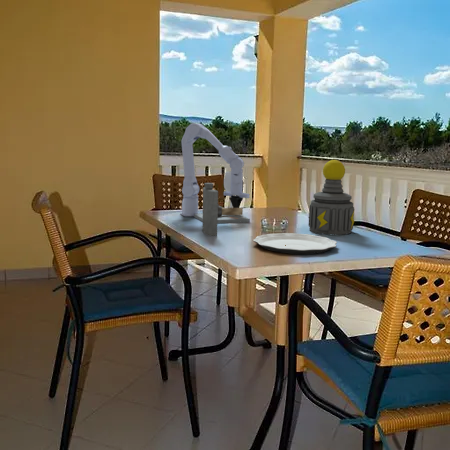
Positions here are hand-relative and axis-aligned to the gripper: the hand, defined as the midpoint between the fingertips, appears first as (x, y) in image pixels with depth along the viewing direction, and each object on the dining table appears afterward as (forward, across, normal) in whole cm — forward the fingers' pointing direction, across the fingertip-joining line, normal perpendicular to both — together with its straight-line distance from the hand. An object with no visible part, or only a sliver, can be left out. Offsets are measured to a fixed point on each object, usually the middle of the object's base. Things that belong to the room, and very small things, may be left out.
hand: (235, 211), depth 247 cm
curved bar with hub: (+1, -2, -7) cm, 7 cm away
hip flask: (+3, +18, -37) cm, 41 cm away
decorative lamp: (+3, +49, +5) cm, 49 cm away
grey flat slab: (+3, -2, -8) cm, 9 cm away
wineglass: (+3, -12, +9) cm, 15 cm away
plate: (+3, +57, -32) cm, 65 cm away
